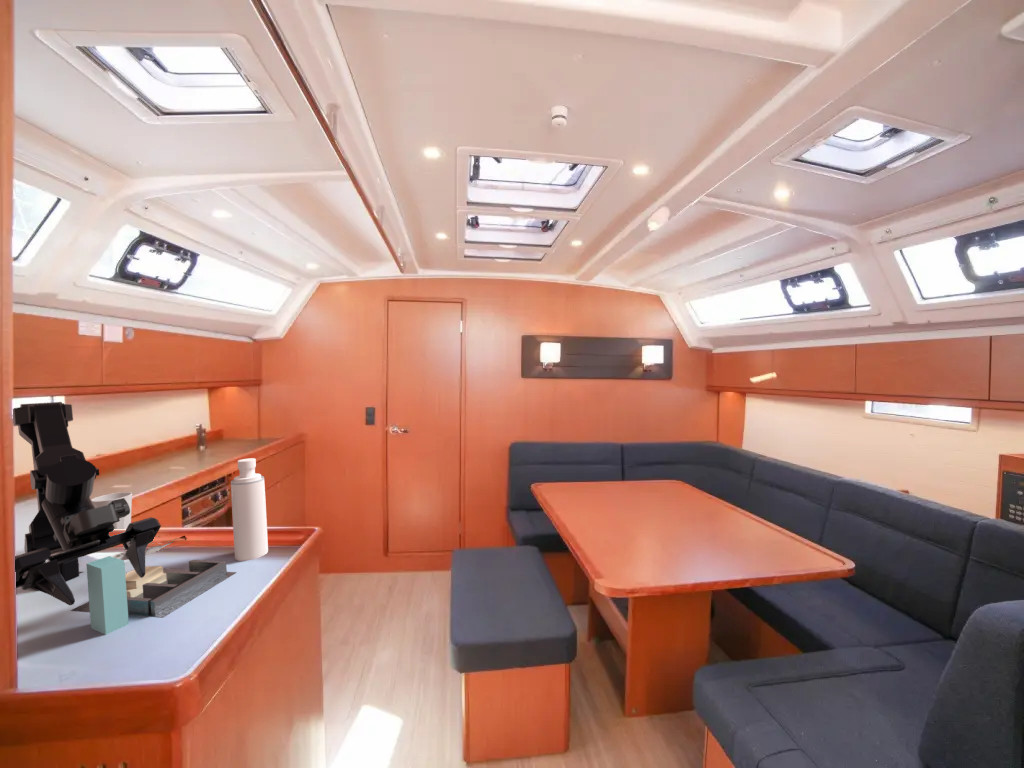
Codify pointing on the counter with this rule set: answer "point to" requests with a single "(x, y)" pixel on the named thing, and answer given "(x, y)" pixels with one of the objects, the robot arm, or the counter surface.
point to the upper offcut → (135, 580)
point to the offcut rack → (174, 589)
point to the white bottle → (249, 512)
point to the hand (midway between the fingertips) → (110, 589)
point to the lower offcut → (139, 590)
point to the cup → (109, 498)
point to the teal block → (107, 594)
